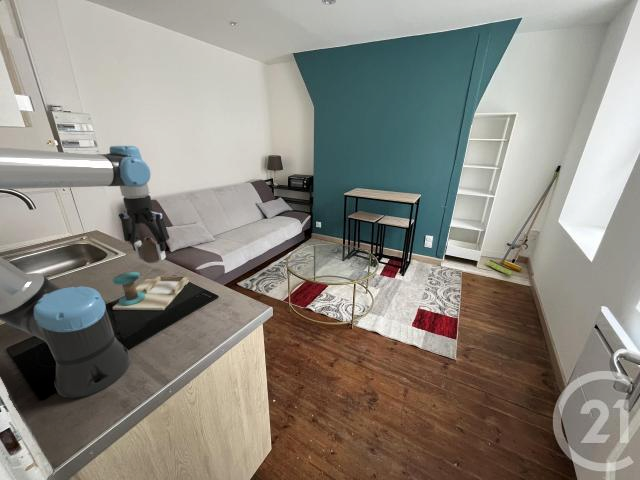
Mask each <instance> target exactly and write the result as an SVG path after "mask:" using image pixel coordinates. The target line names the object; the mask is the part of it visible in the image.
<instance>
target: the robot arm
mask: <svg viewBox="0 0 640 480" xmlns="http://www.w3.org/2000/svg"><path fill="white" fill-rule="evenodd" d="M150 180H151V169H150V167H149V165H148V164H147V163H146V161H144V160H143V159H142V154H141V152H140V149H139V148H138V147H137V146H135V145H112V146H111V145H110V147H109V153H101V154H90V153H80V152H79V153H76V152H62V151H50V150H37V149H24V148H23V149H22V148H20V149H19V148H10V147H9V148H7V147H0V190H19V189H21V190H22V189H26V190H27V189H52V188H55V189H56V188H61V189H62V188H91V187H119V189H120V192H121V193H120V194H121V196H122V197H123V198H122V199H123V203H124V207H125V209H126V211H124V212H121V213H119V214H118V217H119V218H120V219H119V220H120V221H121V228H122V233H123V239H124V241H125V242H130V243H131V245H132V248H133V251H135V252H136V256H137V261H143V260H142V258H141V256H140V253H139V249H140V246H141V244H142V243H143V242H142V240H140V238H139V236H140V230H141V224H144V225H145V226H146V227H147V228H148V229H149V231H150V232H151V234H152V236H153V237H154V239H155V241H156V242H157V243H156V247H157V251H158V255H159V261H163V260H165V259H166V251H165V250H167V246H166V243H165V242H166V241H169V240H170V235H169V231H168V229H167V226H166V223H165V220H164V213H163V212H161V211H160V212H156V211H155V210H154V209H153V203H152V198H151V195H149V194H150V191H149V189H150V188H149V185H148V183H149V181H150ZM0 321H2V322H4V323H5V324H6V325H8V326H10V327H11V328H14V329H17V330H21V331H23V332H25V333H27V334H29V335H32V336H34V337H36V338H38V339H41V340H42V341H44V342H45V343H46V344H47V345H48V348H49V350H50V353H51V355H52V356H53V359H54V361H55V377H54V383H53V384H54V387H55V389H56V392H57V393H58V395H59V396H61V397H62V396H63V398H66V399H78V398H79V399H80V398H83V397H87V396H91V395H93V394H96V393H98V392H100V391H102V390H104V389H107V387H109V386H111V385H113V384H114V383H115V382H116V381H118V380H119V379H120V378H121V377H122V376H123V375H124V374H125V373H126V372H127V370H128V368H129V367H130V365H131V361H132V360H131V356H130V351H129V349H128V348H127V347H126V346H124V345H123V343H121V342H120V341H119V340H118V339H117V338H116V336H115V335H116V334H115V333H114V329H113V326H112V323H111V319H110V317H109V314H108V310H107V307H106V303H105V300H104V299H103V298H102V295H101V293H100V292H99V291H98V290H96V289H95V288H92V287H88V286H83V285H82V286H77V287H75V286H70V287H64V288H63V287H60V286H59V285H57V284H56V283H54V282H53V281H52V280H50V278H49V279H48V278H47V277H45V275H43V274H41V273H39V272H38V273H37V272H32V273H26V272H25V271H24V270H22V269H19V267H17V266H15V265H14V264H12V263H11V262H9V261H8V260H6V259H5V258H3V257H1V256H0Z"/></svg>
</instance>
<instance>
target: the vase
mask: <svg viewBox="0 0 640 480" xmlns="http://www.w3.org/2000/svg"><path fill="white" fill-rule="evenodd" d="M141 243H142V244H141V246H140V249H139V253H140V256H141V258H142V260H141V261H143V262H145V263H147V264H154V263H158V262H159V261H160V260H159V255H158V251H157V247H156V243H158V242H157V240H154V239H153V238H152V237H150V236H148V237H144V238H143V239H142V242H141Z"/></svg>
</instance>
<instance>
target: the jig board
mask: <svg viewBox="0 0 640 480" xmlns="http://www.w3.org/2000/svg"><path fill="white" fill-rule="evenodd" d="M140 277H141V275H140V273H139V272H137V271H130V272H124V273H121V274H118V275H116V276H114V278H113V279H112V282H113V284H114V285H119V286H121V285H122V290H123V292H124V295H123V296H122V297H121V298H120V299H119V301H118V302H117V303H116V304H114V305H113V306H112V310H114V311H115V310H117V311H122V310H123V311H125V310H127V311H164V310H165V309H166V308H167V307H168V306H169V305H170V304H171V303H172V302H173V300H175V298H176V297H177V296H178V294H179V293H180V292H181V291H182V290H183V289H184V288H185V287H186V286H187V284H188V283H189V276H188V275H168V274H167V275H164V274H162V275H158V276H156V278H153V279H151V278H149V279H147V278H146V279H144V280H143V281H142V282H141V283H139V285H137V286H136V284H135V282H136V281H138V280H139V279H140ZM185 285H186V286H185ZM184 286H185V287H184Z"/></svg>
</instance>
